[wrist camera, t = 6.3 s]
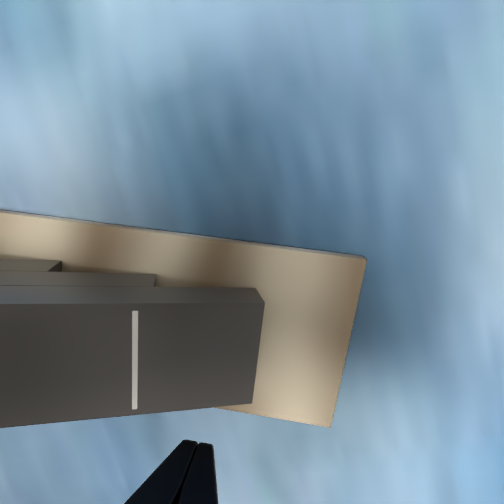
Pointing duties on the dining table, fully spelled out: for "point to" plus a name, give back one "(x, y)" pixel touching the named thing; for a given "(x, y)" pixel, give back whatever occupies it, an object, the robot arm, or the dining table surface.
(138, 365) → the tile
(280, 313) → the board
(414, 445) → the dining table surface
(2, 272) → the tile
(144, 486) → the robot arm
